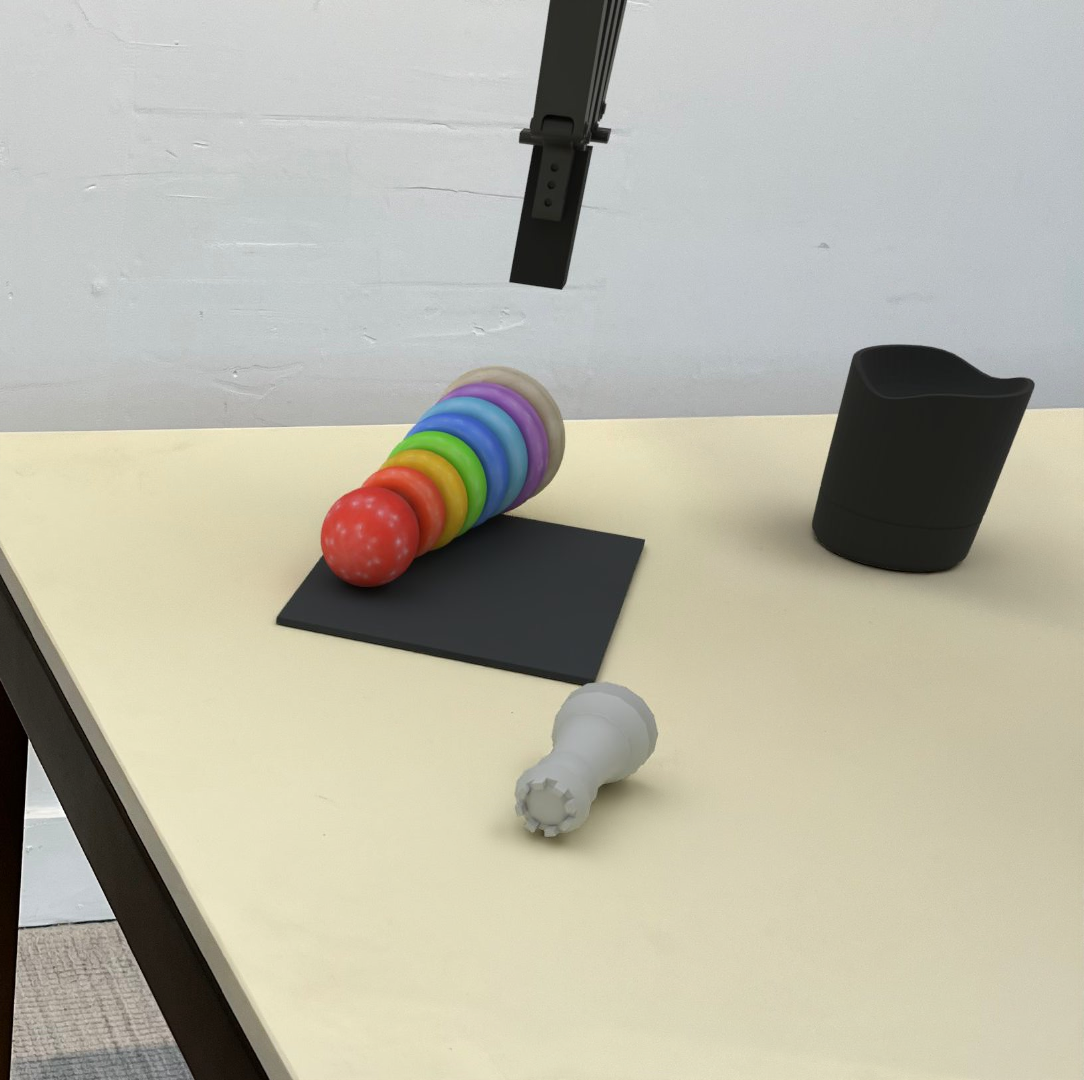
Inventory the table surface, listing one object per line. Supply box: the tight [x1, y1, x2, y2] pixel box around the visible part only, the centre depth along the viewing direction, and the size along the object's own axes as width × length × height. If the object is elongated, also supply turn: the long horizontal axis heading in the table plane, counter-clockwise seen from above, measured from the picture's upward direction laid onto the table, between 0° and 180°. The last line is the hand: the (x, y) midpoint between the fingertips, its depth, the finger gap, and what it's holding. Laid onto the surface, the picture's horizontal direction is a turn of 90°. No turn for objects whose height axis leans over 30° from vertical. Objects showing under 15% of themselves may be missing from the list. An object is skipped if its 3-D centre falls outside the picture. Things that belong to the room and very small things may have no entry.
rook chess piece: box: [513, 681, 659, 838], centre depth 78 cm, size 4×4×8 cm
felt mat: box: [275, 513, 646, 686], centre depth 99 cm, size 16×20×1 cm
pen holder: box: [811, 343, 1036, 573], centre depth 103 cm, size 9×9×10 cm
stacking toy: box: [320, 365, 566, 587], centre depth 99 cm, size 8×8×19 cm
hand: (537, 282), depth 94 cm, fingers closed
